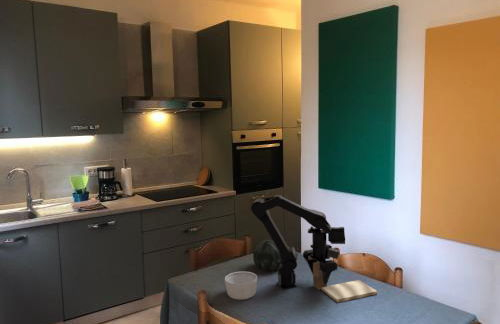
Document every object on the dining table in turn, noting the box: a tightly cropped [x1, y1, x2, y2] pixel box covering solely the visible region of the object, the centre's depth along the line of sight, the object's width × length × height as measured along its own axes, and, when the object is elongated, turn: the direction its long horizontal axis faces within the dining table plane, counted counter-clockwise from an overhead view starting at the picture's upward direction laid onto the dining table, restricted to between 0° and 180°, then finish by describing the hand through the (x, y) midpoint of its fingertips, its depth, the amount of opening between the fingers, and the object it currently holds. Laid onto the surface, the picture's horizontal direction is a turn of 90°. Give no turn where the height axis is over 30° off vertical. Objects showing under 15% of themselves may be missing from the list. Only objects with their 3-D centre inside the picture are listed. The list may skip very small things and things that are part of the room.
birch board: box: [321, 279, 378, 303], centre depth 161 cm, size 18×12×1 cm, turn 110°
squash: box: [252, 239, 282, 272], centre depth 189 cm, size 14×15×15 cm
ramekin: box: [224, 271, 258, 301], centre depth 162 cm, size 13×13×7 cm
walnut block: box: [312, 262, 328, 291], centre depth 166 cm, size 4×4×10 cm
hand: (319, 279), depth 167 cm, fingers open, 9 cm apart
